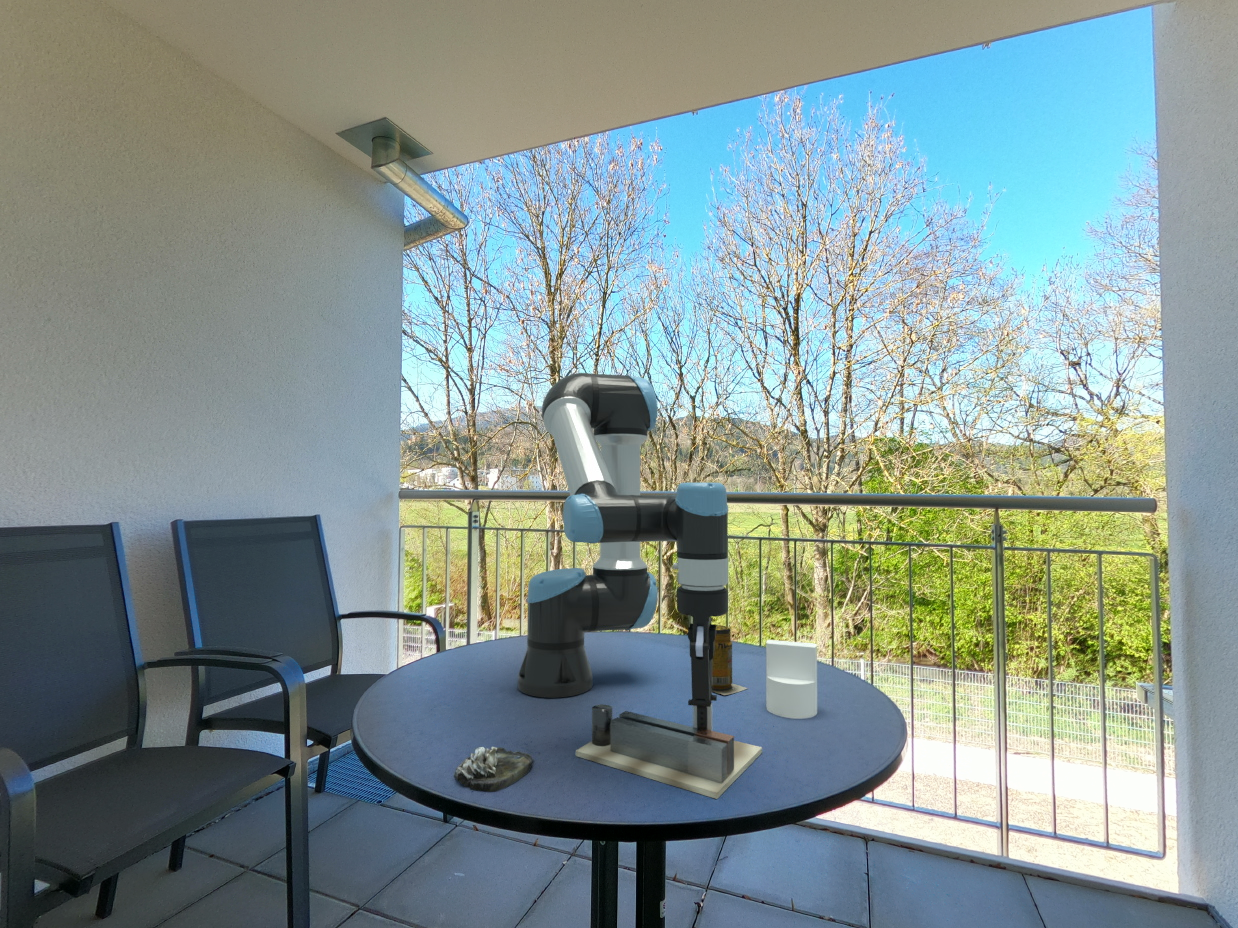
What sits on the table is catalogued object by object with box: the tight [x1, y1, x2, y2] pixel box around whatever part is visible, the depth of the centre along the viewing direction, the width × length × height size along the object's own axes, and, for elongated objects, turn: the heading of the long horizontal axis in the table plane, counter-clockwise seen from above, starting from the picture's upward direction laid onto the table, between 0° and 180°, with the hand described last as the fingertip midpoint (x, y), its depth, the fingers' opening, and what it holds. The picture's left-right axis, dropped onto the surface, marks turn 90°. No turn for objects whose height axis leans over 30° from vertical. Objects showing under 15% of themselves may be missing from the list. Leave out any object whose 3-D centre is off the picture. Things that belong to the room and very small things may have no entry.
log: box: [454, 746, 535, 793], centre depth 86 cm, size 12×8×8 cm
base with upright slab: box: [765, 639, 818, 720], centre depth 112 cm, size 9×9×12 cm
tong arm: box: [618, 710, 735, 775], centre depth 89 cm, size 18×2×5 cm, turn 57°
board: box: [575, 740, 763, 800], centre depth 92 cm, size 23×17×1 cm
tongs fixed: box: [591, 703, 727, 784], centre depth 89 cm, size 23×4×5 cm, turn 57°
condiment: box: [712, 624, 748, 696], centre depth 124 cm, size 7×8×12 cm
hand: (702, 748), depth 89 cm, fingers closed
